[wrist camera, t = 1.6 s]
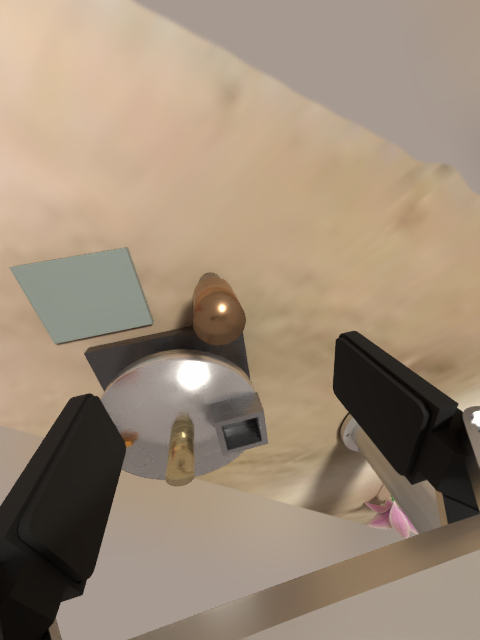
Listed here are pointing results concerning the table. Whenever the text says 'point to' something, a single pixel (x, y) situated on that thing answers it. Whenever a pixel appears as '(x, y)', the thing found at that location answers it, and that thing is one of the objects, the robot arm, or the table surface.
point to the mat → (85, 294)
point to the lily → (391, 518)
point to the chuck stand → (157, 351)
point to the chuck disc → (184, 414)
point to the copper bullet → (216, 311)
